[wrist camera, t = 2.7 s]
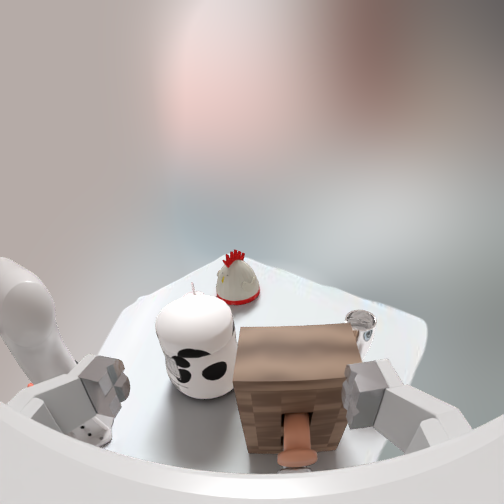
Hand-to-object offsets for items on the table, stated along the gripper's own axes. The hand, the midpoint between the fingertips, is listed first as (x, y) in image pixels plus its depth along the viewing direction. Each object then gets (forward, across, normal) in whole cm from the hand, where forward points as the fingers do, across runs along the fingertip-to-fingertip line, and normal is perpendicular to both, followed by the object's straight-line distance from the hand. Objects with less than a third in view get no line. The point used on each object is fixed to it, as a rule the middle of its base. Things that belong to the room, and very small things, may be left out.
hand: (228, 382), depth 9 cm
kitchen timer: (+77, -9, -28) cm, 82 cm away
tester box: (+28, +5, -38) cm, 47 cm away
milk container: (+43, -13, -35) cm, 57 cm away
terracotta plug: (+18, +5, -28) cm, 34 cm away
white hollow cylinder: (+43, +19, -34) cm, 59 cm away
